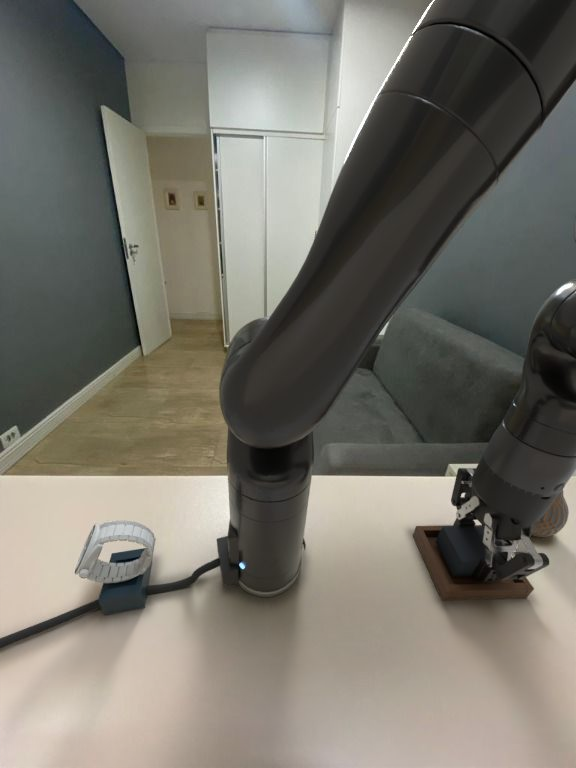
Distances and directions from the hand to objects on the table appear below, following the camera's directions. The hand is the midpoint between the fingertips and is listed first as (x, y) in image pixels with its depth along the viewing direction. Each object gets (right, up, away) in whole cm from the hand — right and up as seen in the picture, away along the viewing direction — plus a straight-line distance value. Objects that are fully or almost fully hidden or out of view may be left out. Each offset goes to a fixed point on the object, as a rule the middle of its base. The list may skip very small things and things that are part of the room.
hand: (469, 556), depth 42 cm
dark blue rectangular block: (0, 0, 0) cm, 0 cm away
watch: (-45, -2, -4) cm, 45 cm away
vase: (+14, +1, +7) cm, 15 cm away
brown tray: (0, -2, +1) cm, 2 cm away
